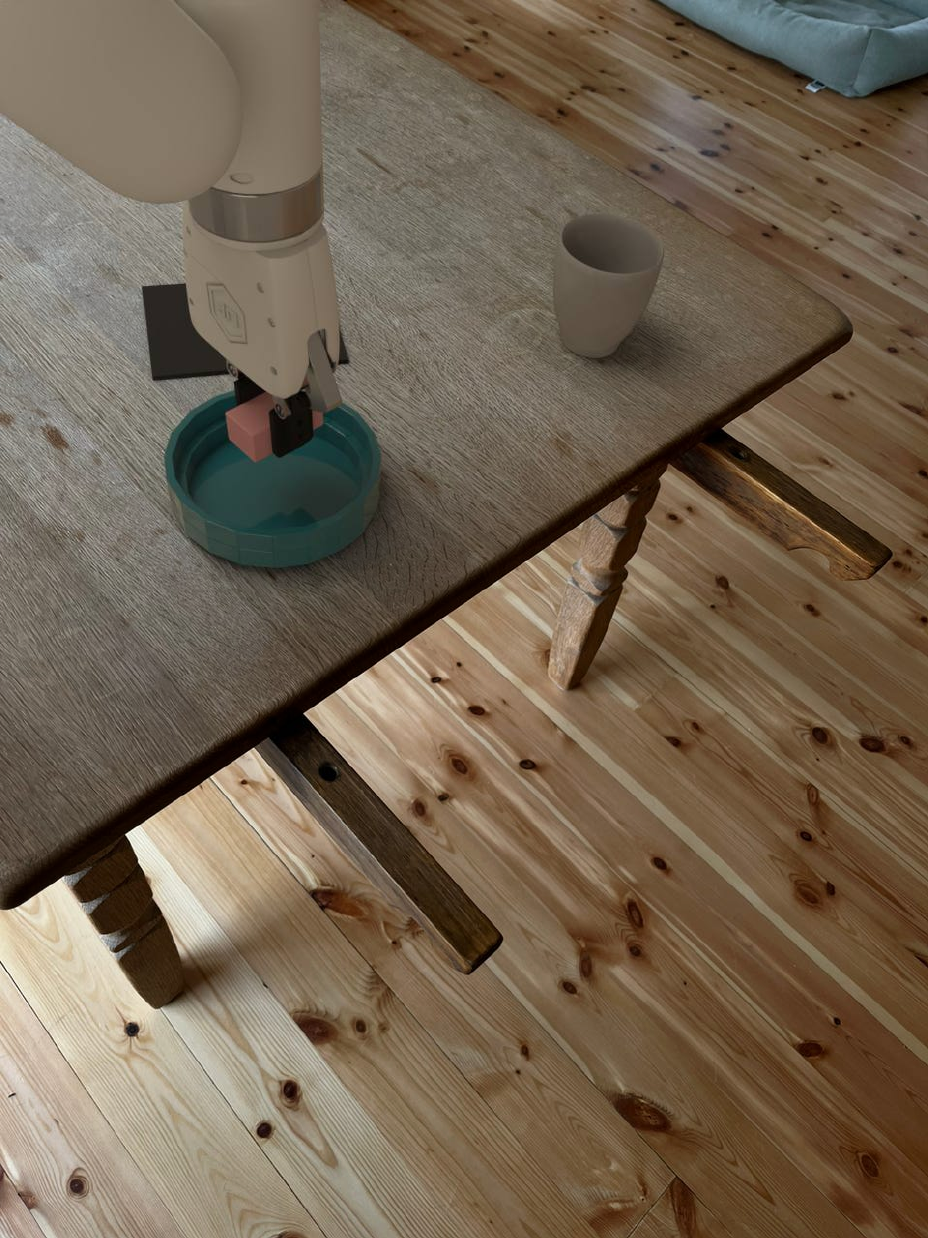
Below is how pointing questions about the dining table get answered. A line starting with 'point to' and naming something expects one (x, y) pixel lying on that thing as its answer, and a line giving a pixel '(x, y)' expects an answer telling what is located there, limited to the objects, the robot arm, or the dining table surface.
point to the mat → (182, 336)
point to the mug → (603, 280)
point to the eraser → (256, 426)
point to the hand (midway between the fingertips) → (276, 430)
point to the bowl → (272, 488)
